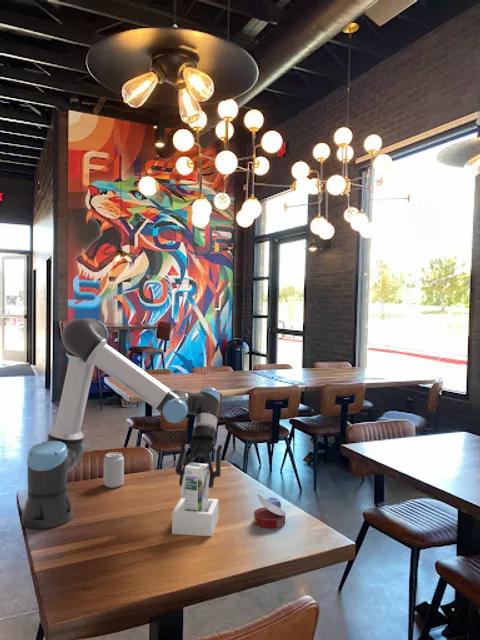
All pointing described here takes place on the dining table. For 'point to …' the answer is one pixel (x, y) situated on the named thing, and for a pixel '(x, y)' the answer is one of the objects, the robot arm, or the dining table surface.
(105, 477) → the can
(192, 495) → the syrup box
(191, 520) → the socket
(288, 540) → the dining table surface
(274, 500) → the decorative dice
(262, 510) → the canned food
